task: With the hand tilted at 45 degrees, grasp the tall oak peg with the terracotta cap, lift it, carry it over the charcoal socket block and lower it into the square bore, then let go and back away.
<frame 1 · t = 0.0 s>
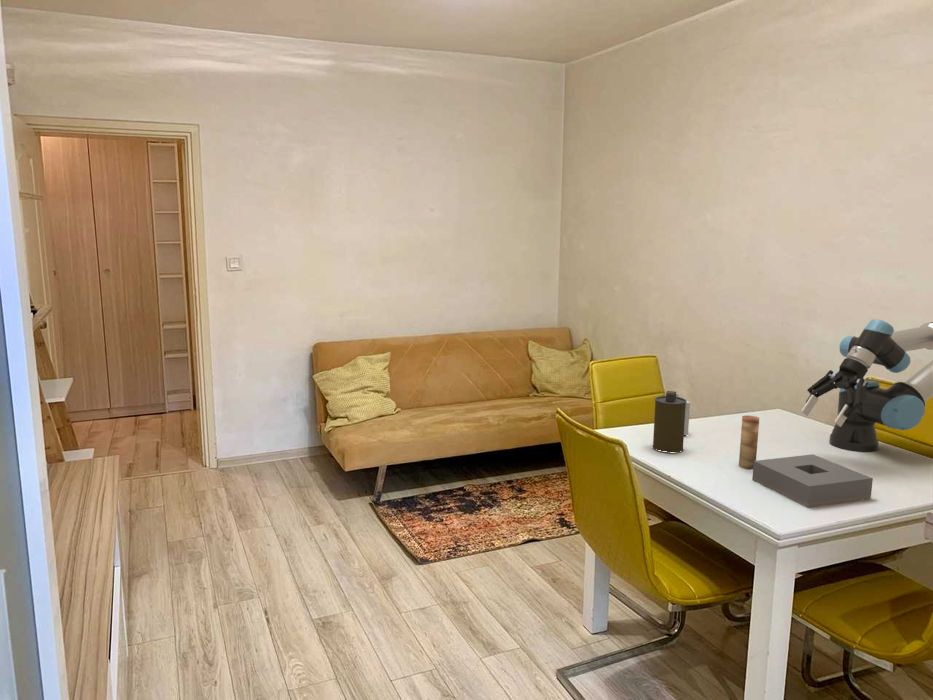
hand: (820, 418, 225), 15 cm above the table, tool tilted 35°, fingers open, 13 cm apart
socket block: (809, 488, 206), on the table
oak peg: (747, 466, 226), on the table
supplement box: (675, 434, 261), on the table
canister: (667, 449, 243), on the table
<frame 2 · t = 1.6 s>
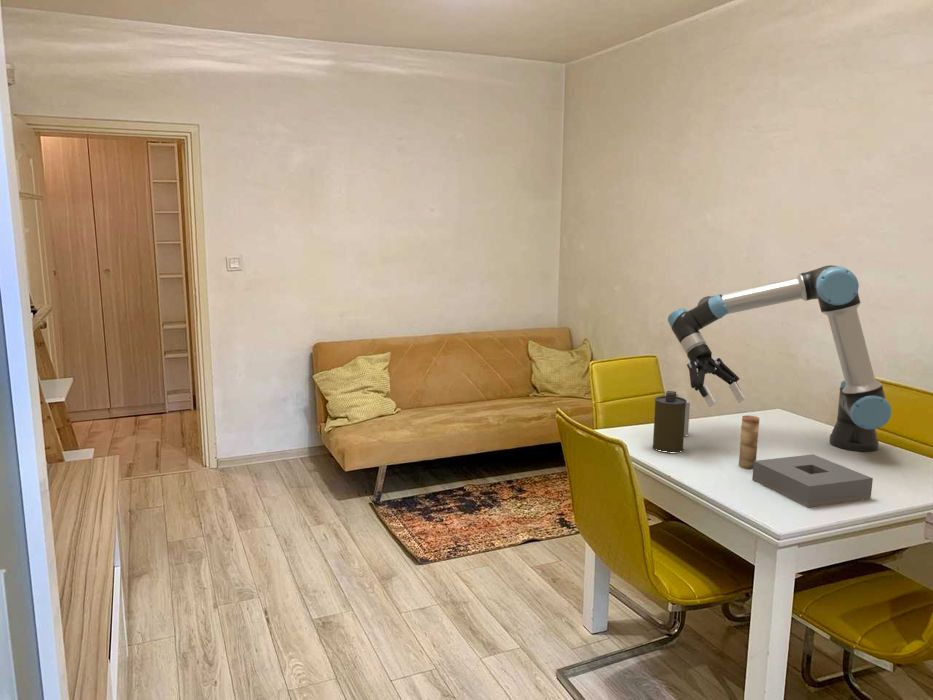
hand: (727, 402, 231), 19 cm above the table, tool tilted 45°, fingers open, 13 cm apart
nothing on the table moved.
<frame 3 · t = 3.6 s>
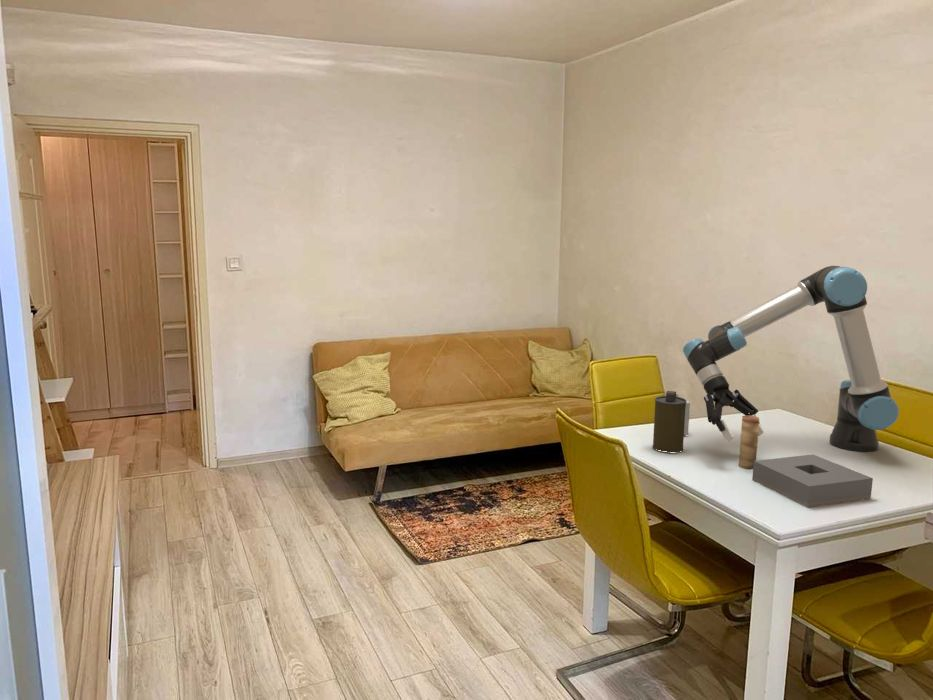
hand: (746, 436, 224), 10 cm above the table, tool tilted 45°, fingers open, 13 cm apart
nothing on the table moved.
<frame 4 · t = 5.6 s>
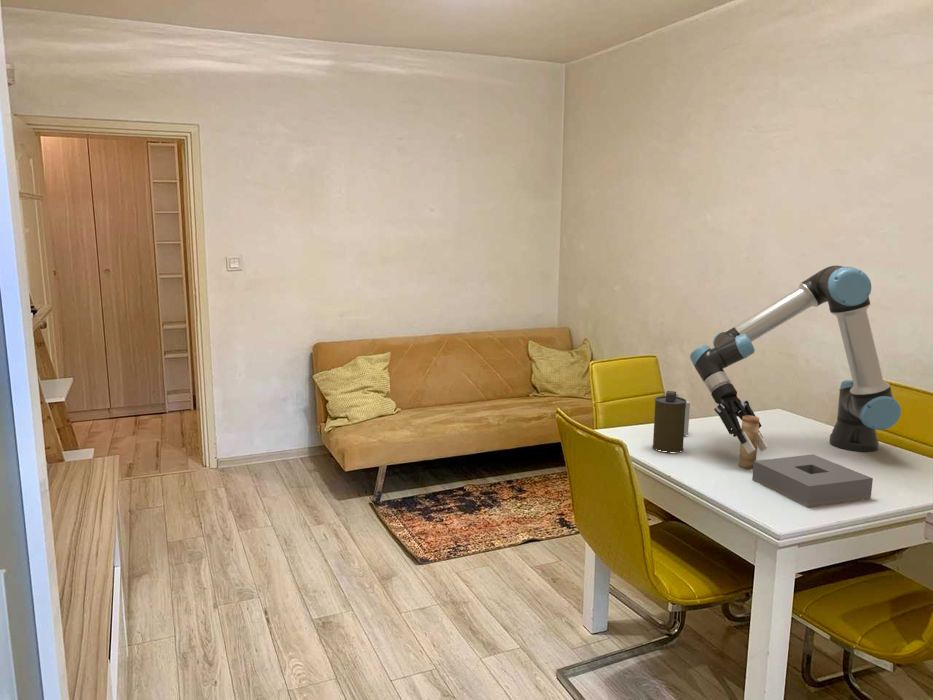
hand: (758, 450, 221), 6 cm above the table, tool tilted 45°, fingers closed on oak peg, 5 cm apart
oak peg: (747, 466, 226), on the table, touching gripper
everything else where it was.
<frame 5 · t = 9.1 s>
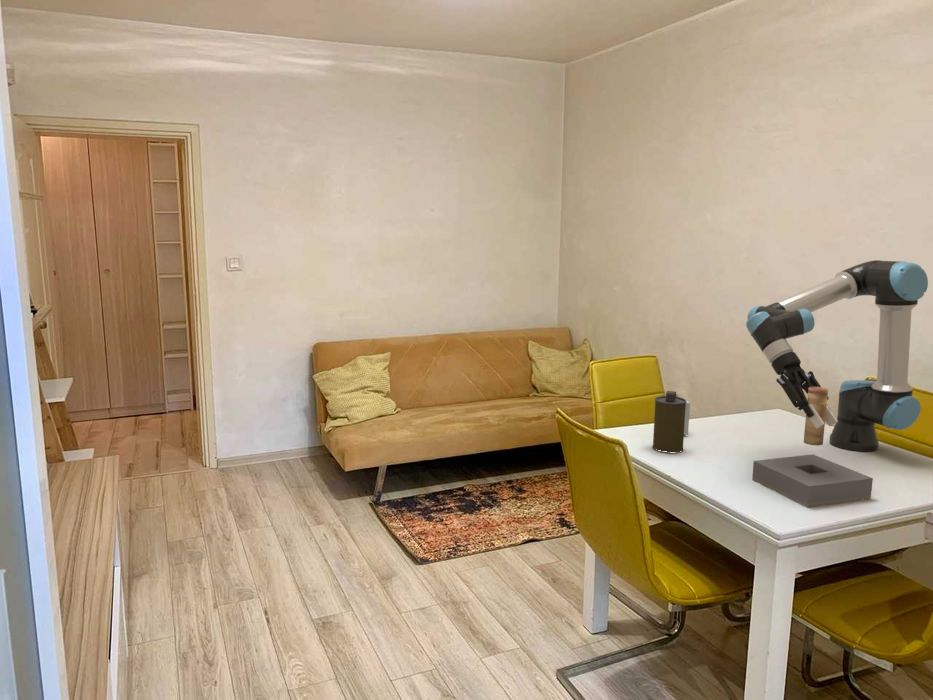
hand: (826, 424, 200), 20 cm above the table, tool tilted 45°, fingers closed on oak peg, 5 cm apart
oak peg: (813, 442, 204), point 14 cm above the table, touching gripper
everything else where it was.
when the fingers open (9 cm above the table, at t = 12.5 s): oak peg drops 1 cm, resting on socket block.
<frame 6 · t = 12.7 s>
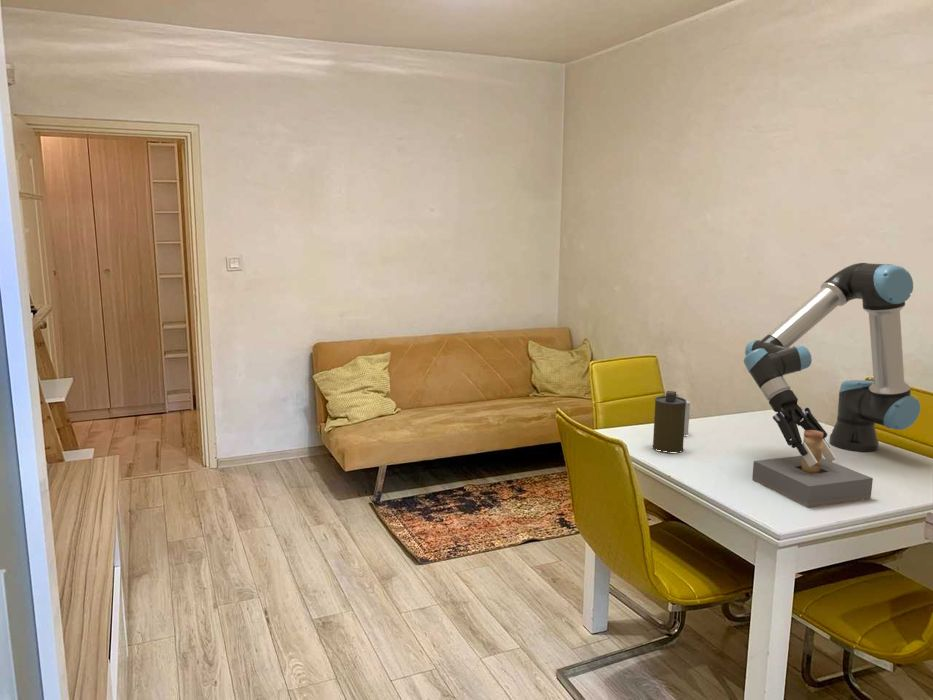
hand: (823, 462, 202), 9 cm above the table, tool tilted 45°, fingers open, 7 cm apart
oak peg: (809, 485, 206), point 1 cm above the table, touching socket block
everything else where it was.
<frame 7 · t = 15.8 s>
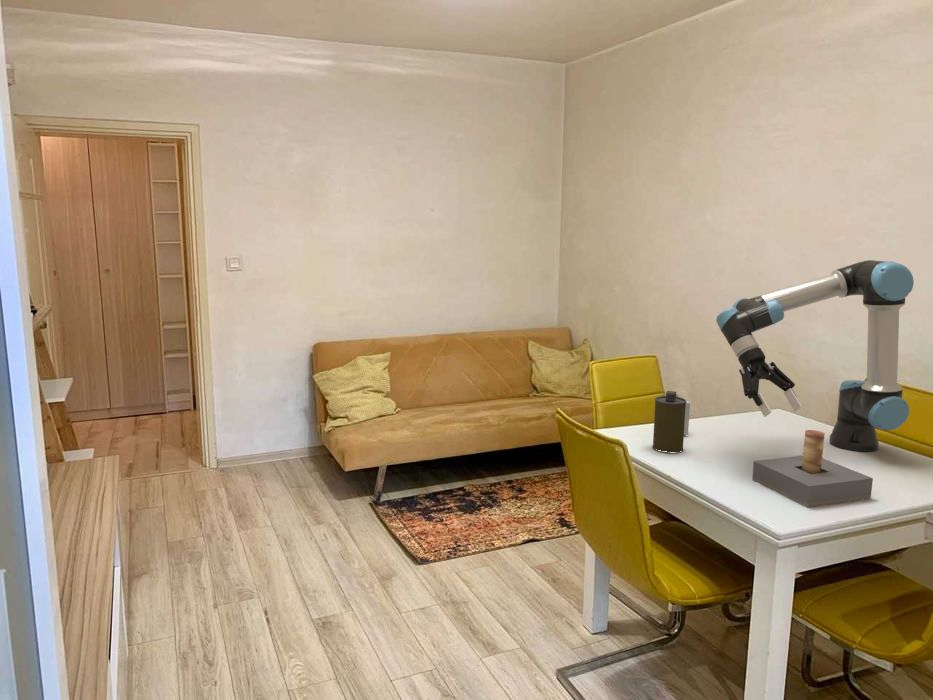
hand: (783, 411, 214), 20 cm above the table, tool tilted 40°, fingers open, 13 cm apart
nothing on the table moved.
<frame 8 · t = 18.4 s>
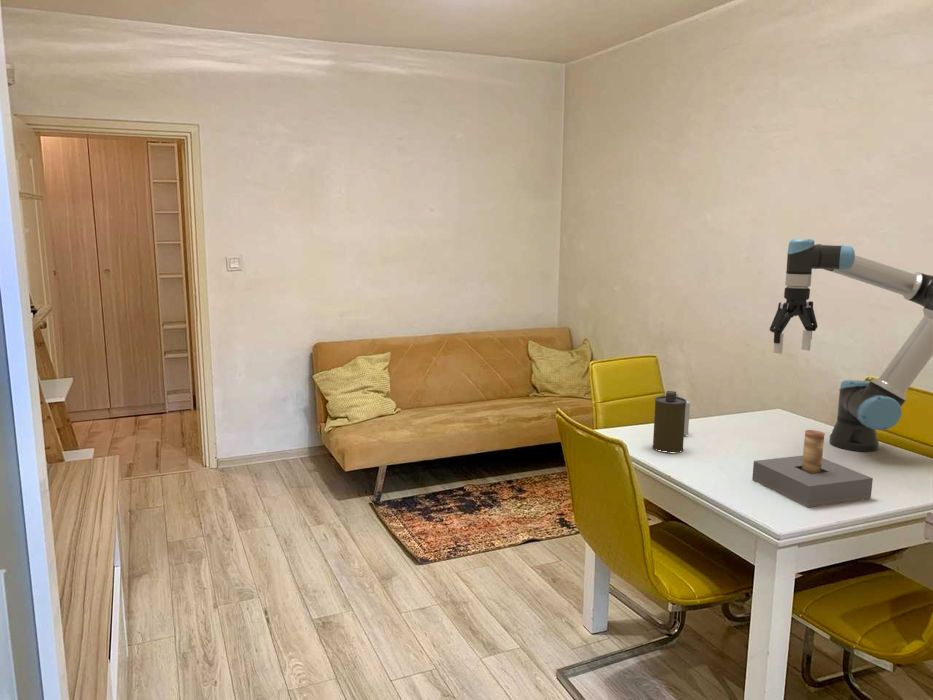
hand: (791, 351, 233), 35 cm above the table, tool pointing down, fingers open, 13 cm apart
nothing on the table moved.
at the end: oak peg 0.1 cm off-centre on the socket block, point 1.0 cm above the socket block's base; oak peg tilted 0°; the gripper is holding nothing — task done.
